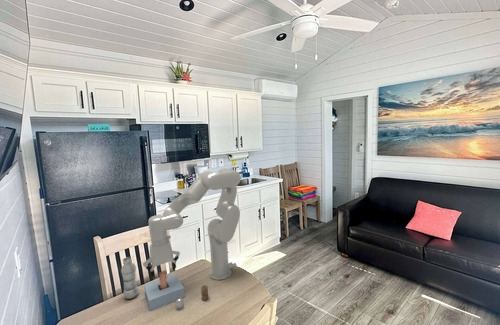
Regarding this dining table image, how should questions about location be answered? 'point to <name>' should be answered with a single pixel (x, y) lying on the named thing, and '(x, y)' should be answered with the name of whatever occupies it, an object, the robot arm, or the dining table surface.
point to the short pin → (179, 303)
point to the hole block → (163, 292)
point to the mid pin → (204, 293)
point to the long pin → (163, 280)
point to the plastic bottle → (129, 278)
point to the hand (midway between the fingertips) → (164, 273)
